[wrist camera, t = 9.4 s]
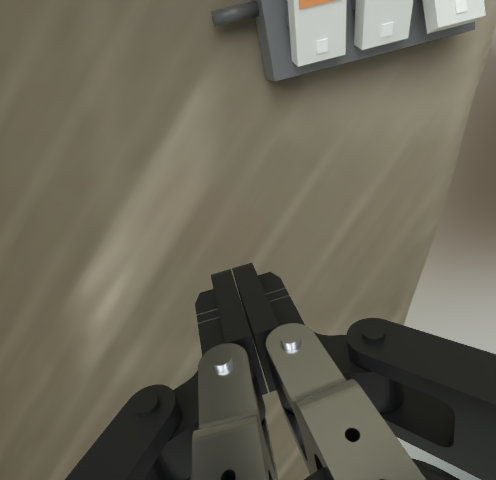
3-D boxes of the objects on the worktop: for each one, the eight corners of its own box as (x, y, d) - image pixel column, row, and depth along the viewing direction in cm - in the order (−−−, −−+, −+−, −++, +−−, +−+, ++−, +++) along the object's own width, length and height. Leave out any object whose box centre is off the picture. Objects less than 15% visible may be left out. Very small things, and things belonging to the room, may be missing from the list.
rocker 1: (285, -33, 30) (292, -30, 29) (338, -45, 30) (348, -43, 29) (291, 61, 35) (298, 67, 33) (337, 49, 35) (346, 54, 34)
